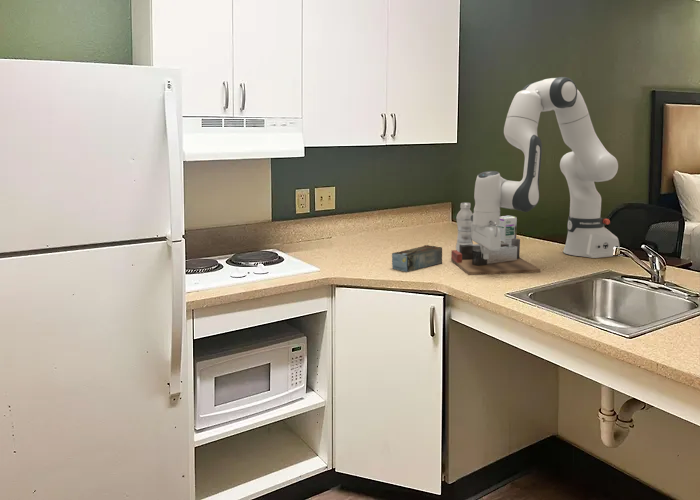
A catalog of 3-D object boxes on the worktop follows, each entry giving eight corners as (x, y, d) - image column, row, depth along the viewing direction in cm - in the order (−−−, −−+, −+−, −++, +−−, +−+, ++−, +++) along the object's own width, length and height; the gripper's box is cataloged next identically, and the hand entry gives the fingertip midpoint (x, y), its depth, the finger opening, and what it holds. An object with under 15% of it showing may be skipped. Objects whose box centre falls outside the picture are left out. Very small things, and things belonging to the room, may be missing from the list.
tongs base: (516, 258, 235) (517, 237, 233) (539, 271, 213) (541, 248, 212) (451, 260, 232) (451, 239, 230) (468, 274, 211) (469, 251, 209)
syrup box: (504, 255, 240) (505, 218, 237) (494, 252, 245) (495, 216, 242) (516, 254, 242) (517, 216, 239) (506, 251, 247) (507, 214, 244)
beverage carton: (390, 269, 222) (390, 250, 220) (427, 260, 234) (427, 243, 233) (406, 272, 216) (407, 254, 214) (443, 264, 228) (443, 246, 227)
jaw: (511, 258, 229) (512, 245, 228) (517, 260, 226) (518, 246, 225) (472, 264, 221) (472, 250, 220) (477, 265, 218) (478, 251, 217)
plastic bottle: (473, 256, 239) (474, 204, 235) (455, 255, 240) (456, 204, 236) (473, 252, 245) (474, 202, 241) (455, 252, 246) (456, 201, 242)
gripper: (506, 223, 205) (504, 264, 207) (485, 214, 224) (484, 252, 227) (487, 223, 204) (486, 265, 206) (468, 215, 224) (467, 253, 226)
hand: (484, 258), depth 217 cm, fingers closed
